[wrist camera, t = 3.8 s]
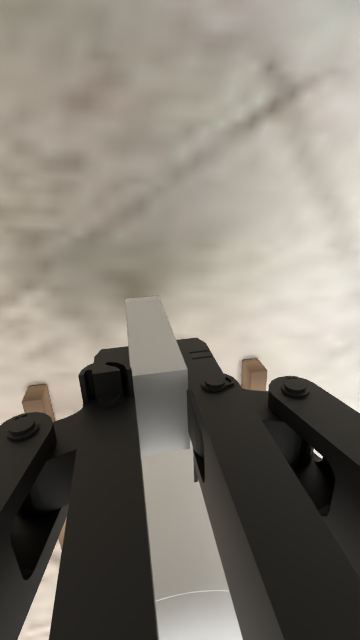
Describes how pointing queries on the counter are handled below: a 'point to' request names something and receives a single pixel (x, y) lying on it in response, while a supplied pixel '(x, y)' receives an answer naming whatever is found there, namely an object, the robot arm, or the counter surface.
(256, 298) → the counter surface
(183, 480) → the pill bottle
